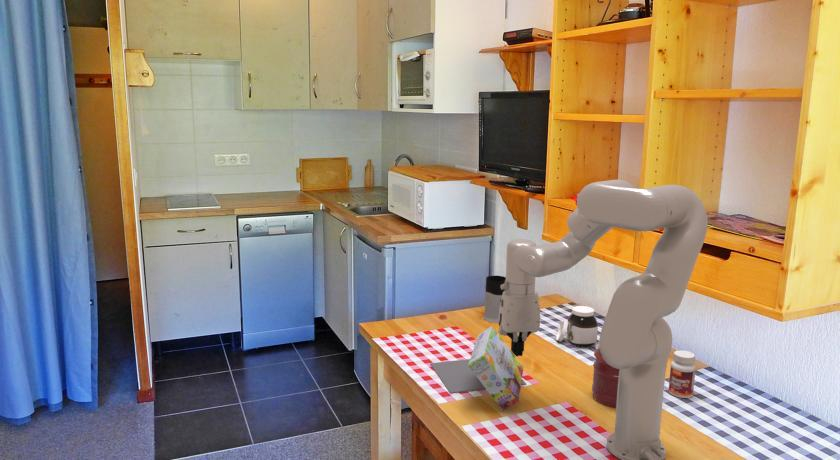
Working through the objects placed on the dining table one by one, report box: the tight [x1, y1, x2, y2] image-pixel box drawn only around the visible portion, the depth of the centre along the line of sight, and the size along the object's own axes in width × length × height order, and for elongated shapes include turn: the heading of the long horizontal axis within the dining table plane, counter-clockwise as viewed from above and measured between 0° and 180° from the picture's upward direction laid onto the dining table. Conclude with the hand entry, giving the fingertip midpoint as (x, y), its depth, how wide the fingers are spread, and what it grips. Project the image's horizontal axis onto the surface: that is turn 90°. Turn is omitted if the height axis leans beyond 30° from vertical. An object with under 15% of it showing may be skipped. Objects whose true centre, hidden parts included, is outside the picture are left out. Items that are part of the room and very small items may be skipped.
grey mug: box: [482, 275, 506, 324], centre depth 225 cm, size 9×14×15 cm, turn 46°
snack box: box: [468, 325, 524, 412], centre depth 168 cm, size 21×6×15 cm
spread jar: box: [555, 305, 599, 348], centre depth 205 cm, size 12×11×12 cm
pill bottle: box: [668, 350, 697, 399], centre depth 169 cm, size 6×6×11 cm
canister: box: [591, 342, 620, 408], centre depth 166 cm, size 13×13×18 cm
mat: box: [429, 358, 527, 394], centre depth 182 cm, size 20×22×1 cm
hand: (517, 354), depth 167 cm, fingers closed
